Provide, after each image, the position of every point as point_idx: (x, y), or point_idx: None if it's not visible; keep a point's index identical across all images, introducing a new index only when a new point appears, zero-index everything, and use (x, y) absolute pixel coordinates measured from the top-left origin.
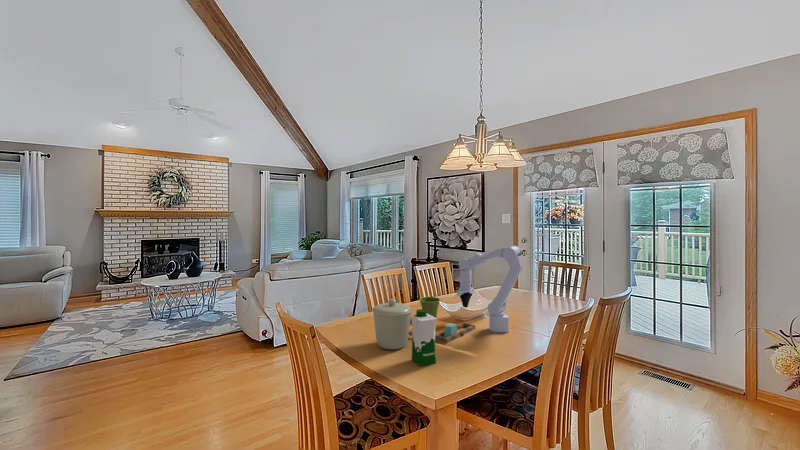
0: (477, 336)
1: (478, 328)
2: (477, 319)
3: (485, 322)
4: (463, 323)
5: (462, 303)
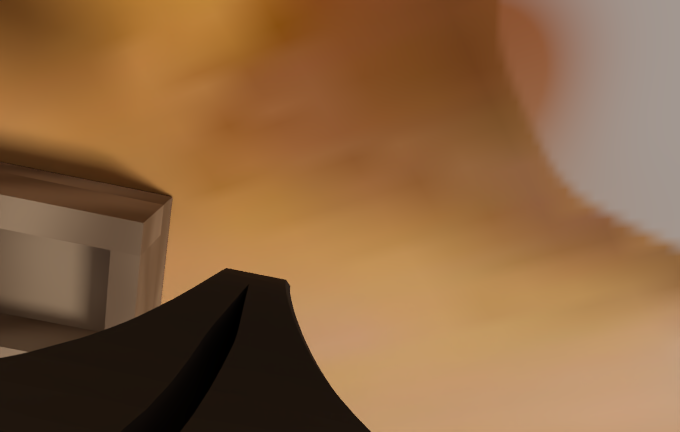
0: None
1: None
2: (660, 253)
3: (557, 371)
4: (100, 243)
5: (186, 297)
